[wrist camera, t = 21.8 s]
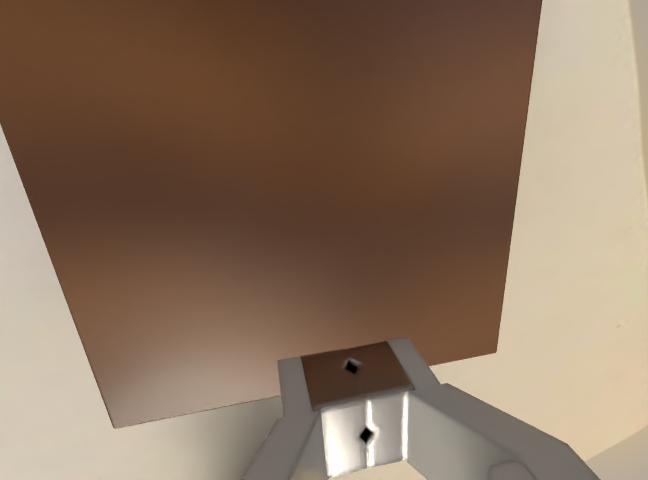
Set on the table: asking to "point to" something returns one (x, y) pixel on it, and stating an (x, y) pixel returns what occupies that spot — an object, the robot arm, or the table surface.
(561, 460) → the robot arm
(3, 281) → the table surface
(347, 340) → the lid
